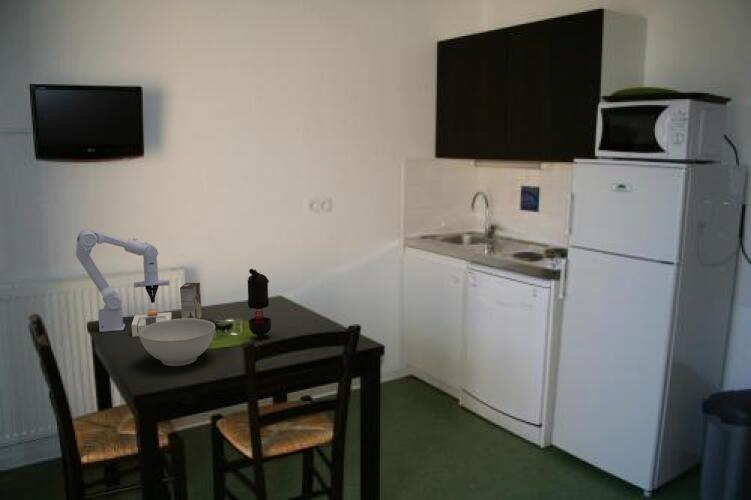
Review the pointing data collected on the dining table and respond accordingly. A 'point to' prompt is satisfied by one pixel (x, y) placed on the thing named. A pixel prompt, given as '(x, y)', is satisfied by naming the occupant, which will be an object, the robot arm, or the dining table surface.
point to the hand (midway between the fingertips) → (153, 302)
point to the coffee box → (191, 300)
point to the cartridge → (148, 322)
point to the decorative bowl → (177, 339)
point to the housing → (143, 316)
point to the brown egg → (152, 312)
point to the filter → (258, 303)
